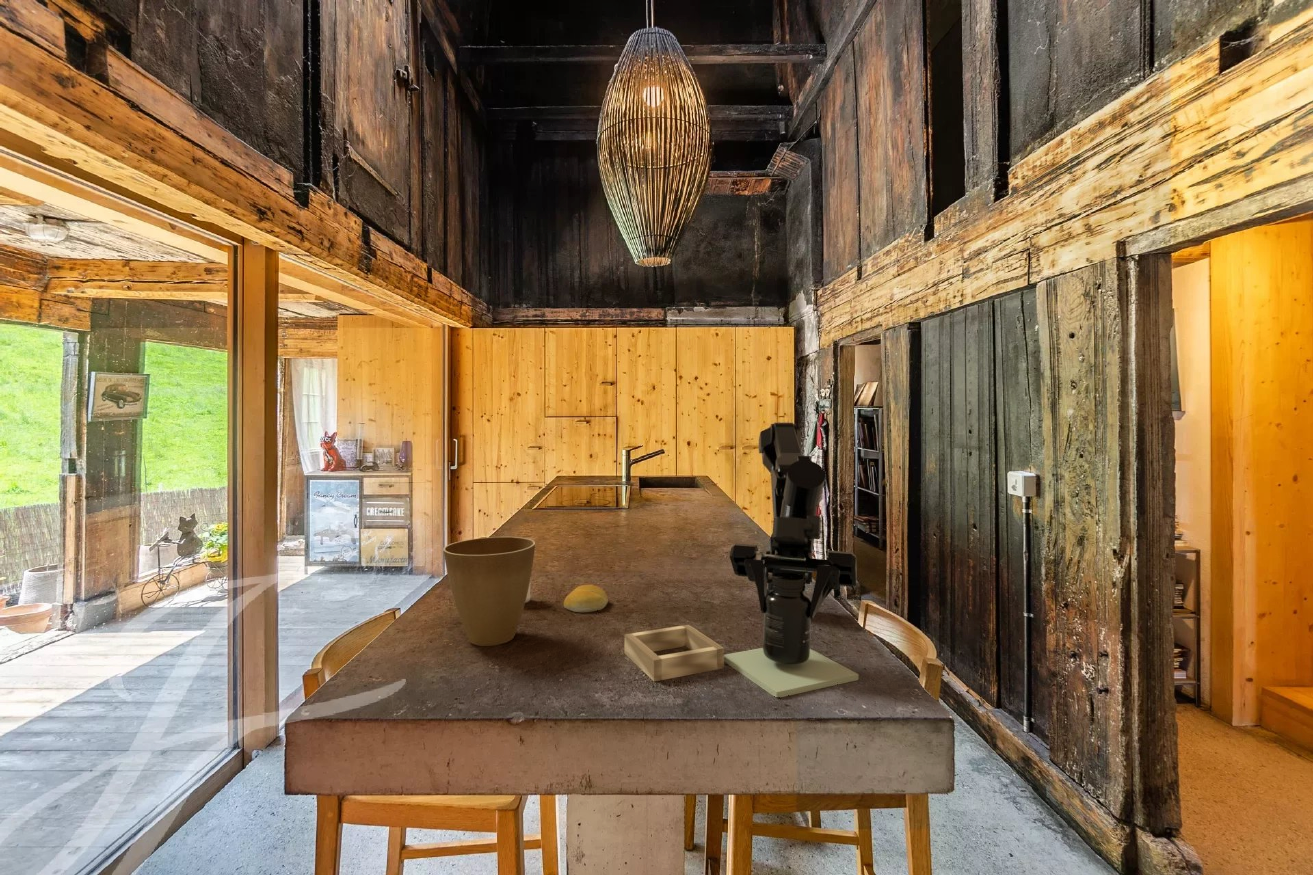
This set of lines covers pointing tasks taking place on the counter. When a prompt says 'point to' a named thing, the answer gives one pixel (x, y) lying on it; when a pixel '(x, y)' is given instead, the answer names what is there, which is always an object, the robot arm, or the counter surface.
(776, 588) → the supplement bottle
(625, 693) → the counter surface
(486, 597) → the plant pot
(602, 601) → the bread roll
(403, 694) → the counter surface
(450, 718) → the counter surface
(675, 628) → the birch collar
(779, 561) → the robot arm
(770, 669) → the sage board
